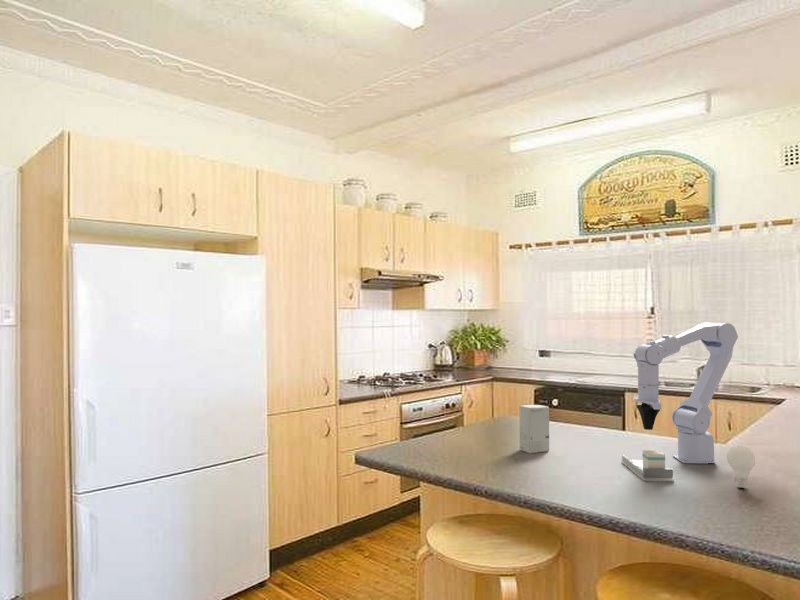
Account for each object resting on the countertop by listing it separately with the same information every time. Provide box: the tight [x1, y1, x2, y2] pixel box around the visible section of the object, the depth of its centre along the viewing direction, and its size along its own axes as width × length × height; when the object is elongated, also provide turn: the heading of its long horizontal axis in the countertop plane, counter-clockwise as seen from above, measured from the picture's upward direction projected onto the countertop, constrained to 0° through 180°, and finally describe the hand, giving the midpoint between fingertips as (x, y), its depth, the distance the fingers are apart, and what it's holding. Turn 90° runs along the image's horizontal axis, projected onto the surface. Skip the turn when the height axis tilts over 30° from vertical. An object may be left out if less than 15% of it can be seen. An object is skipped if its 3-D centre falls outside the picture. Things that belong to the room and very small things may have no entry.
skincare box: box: [518, 404, 550, 454], centre depth 182 cm, size 8×6×15 cm
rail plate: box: [621, 454, 675, 482], centre depth 158 cm, size 8×18×3 cm, turn 176°
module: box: [641, 449, 666, 468], centre depth 153 cm, size 5×4×6 cm
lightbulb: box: [726, 445, 756, 489], centre depth 143 cm, size 6×6×11 cm
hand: (648, 429), depth 166 cm, fingers closed
